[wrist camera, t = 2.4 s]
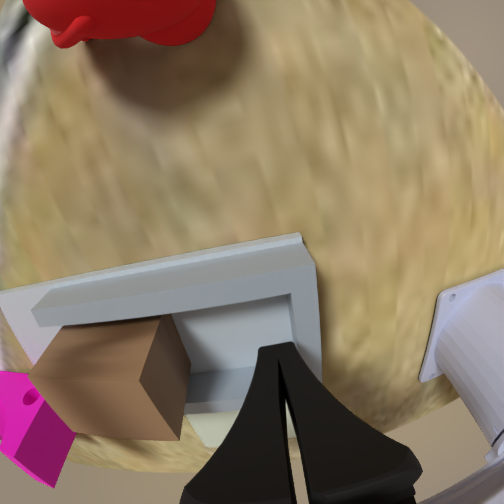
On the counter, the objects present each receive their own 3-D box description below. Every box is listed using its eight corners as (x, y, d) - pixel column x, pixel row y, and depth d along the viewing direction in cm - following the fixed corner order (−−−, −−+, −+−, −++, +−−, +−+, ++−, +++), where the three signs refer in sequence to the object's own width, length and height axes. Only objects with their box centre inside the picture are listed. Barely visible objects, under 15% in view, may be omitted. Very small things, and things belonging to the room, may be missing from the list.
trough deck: (298, 232, 13) (314, 257, 10) (312, 362, 16) (322, 398, 13) (-1, 291, 13) (-25, 313, 10) (52, 381, 16) (38, 406, 13)
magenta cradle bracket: (11, 409, 19) (-15, 456, 12) (-23, 367, 16) (-56, 413, 9) (104, 429, 17) (77, 503, 10) (58, 376, 15) (13, 457, 8)
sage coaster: (287, 373, 16) (289, 380, 15) (296, 430, 18) (297, 436, 18) (174, 387, 16) (173, 394, 15) (206, 441, 19) (206, 447, 18)
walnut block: (167, 302, 13) (138, 380, 8) (191, 363, 14) (179, 440, 10) (70, 315, 13) (27, 376, 8) (100, 369, 15) (73, 431, 10)
